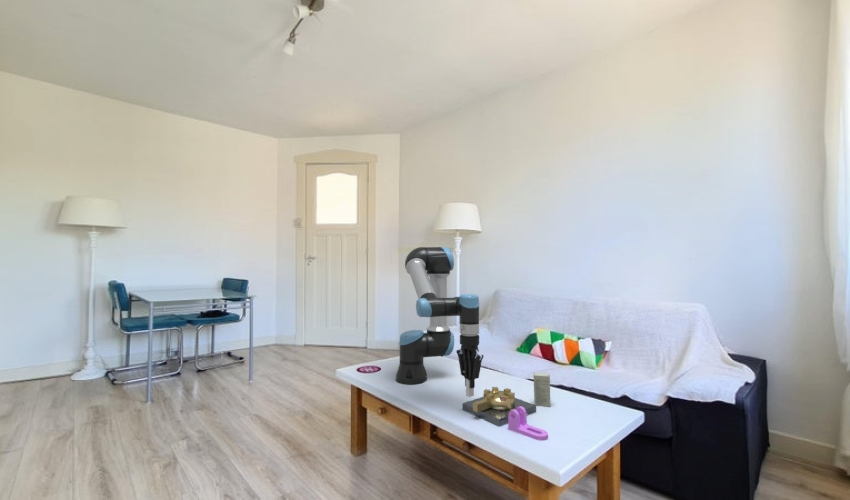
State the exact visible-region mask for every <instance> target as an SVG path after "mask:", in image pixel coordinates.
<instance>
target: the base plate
mask: <svg viewBox="0 0 850 500" xmlns="http://www.w3.org/2000/svg"><path fill="white" fill-rule="evenodd" d="M480 400H483V396H480V397H478V398H474V399H472V400H468V401H465V402H462V410H463V411H465V412H467V413H469V414H471V415H473V416H476V417H478V418H480V419H482V420H484V421H486V422H489V423H491V424H492V425H495V426H498V427H502V426H504V425H506V424H507V425H508V413H509V412H510V411H511V410H515V409H516V408H517V407H520V406H522V407H524V408H525V410H526V417H527V416H529V415H533V414H536V413H537V405H534V404H533V403H529V402H528V401H525V400H522V399H519V398H516V397H515V406H514V407H513V408H511V409H505V410H499V409H493V408H489V409H486V410H483V411H480V412H475V411H473V402H477V401H480ZM520 413H521V411H520ZM514 417H515V416H514Z"/></svg>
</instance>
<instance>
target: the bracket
mask: <svg viewBox="0 0 850 500" xmlns="http://www.w3.org/2000/svg"><path fill="white" fill-rule="evenodd" d="M520 411H521V413H520ZM514 416H515V417H514ZM507 425H508V429H507V430H510V431H512V432H515V433H517V434H520V435H523V436H526V437H527V438H528V437H529V438H531V439H532V440H537V441H546V440H548V439H549V433H548V431H546V430H545V429H542V428H539V427H537V426H534V425H530V424H528V423H527V416H526V410H525V408H524V407H522V406H520V407H517V408H516V409H515V410H511V411H510V412H509V413H508V423H507Z"/></svg>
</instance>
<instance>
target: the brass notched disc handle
mask: <svg viewBox="0 0 850 500" xmlns="http://www.w3.org/2000/svg"><path fill="white" fill-rule="evenodd" d="M515 394H516V393H515V392H512V389H511V388H507V387H506V388H503V390H499V388H498V386H492V387H491V390H490V389H488V388H485V389H484V390H483V396H482V397H483V400H480V401H477V402H473V411H475V412H480V411H483V410H486V409H489V408H493V409H499V410H505V409H511V408H513V407H514V406H515V398H516V395H515Z"/></svg>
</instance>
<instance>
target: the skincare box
mask: <svg viewBox="0 0 850 500" xmlns="http://www.w3.org/2000/svg"><path fill="white" fill-rule="evenodd" d="M550 377H551V376H550V373H549V372H536V371H535V372H533V400H534V405H536V406H539V407H540V406H541V407H551V404H552V403H551V384H550V383H551V382H550V381H551V379H550Z"/></svg>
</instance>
